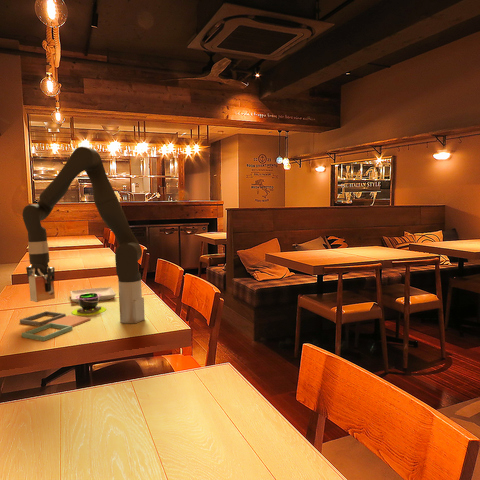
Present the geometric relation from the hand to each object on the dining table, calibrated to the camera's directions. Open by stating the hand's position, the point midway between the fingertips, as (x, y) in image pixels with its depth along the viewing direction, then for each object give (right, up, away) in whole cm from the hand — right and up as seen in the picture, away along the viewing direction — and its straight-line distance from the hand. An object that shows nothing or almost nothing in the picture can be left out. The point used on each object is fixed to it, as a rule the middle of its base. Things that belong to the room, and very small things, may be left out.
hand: (42, 290), depth 170 cm
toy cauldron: (+14, -11, +15) cm, 24 cm away
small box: (0, -4, 0) cm, 4 cm away
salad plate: (+7, -9, +39) cm, 41 cm away
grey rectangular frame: (0, -13, +1) cm, 13 cm away
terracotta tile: (+12, -13, -2) cm, 18 cm away
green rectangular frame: (+10, -14, -16) cm, 24 cm away
